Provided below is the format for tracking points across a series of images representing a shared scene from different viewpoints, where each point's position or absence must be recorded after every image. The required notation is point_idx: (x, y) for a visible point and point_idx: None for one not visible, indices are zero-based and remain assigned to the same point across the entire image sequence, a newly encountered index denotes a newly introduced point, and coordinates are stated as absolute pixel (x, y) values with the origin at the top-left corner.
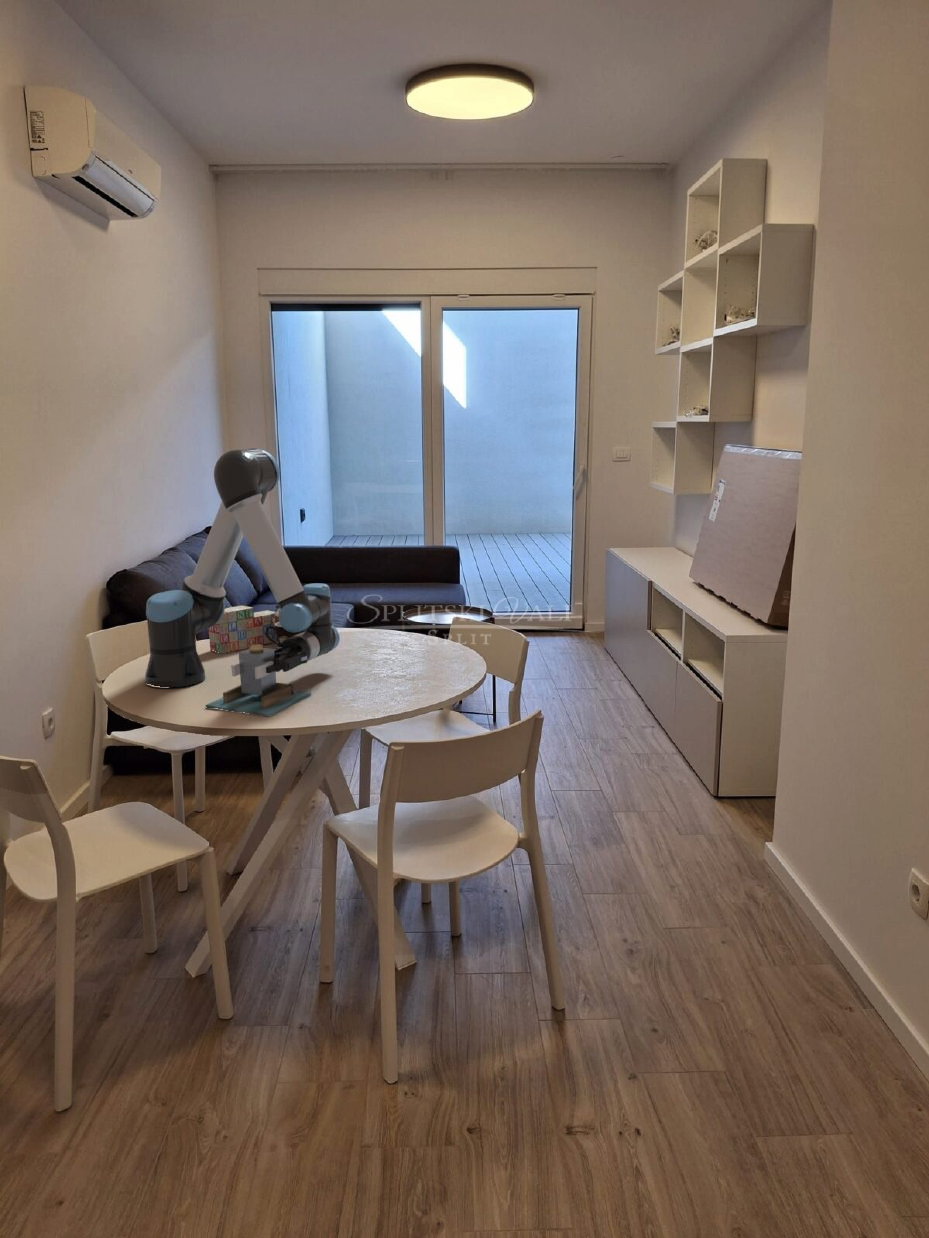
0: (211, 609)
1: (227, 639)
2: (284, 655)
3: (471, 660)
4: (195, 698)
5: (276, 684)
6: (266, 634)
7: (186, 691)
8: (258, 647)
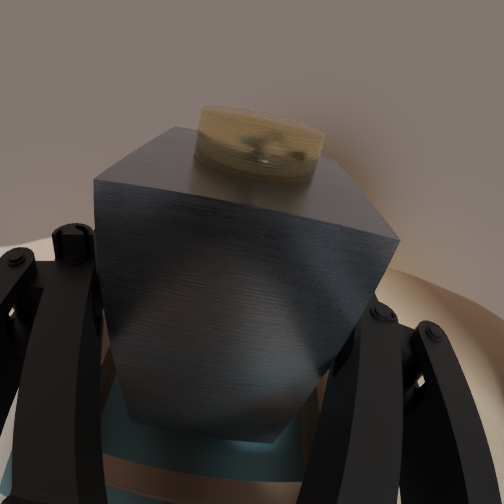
0: None
1: None
2: (35, 481)
3: None
4: None
5: (153, 468)
6: None
7: (488, 403)
8: (218, 106)
